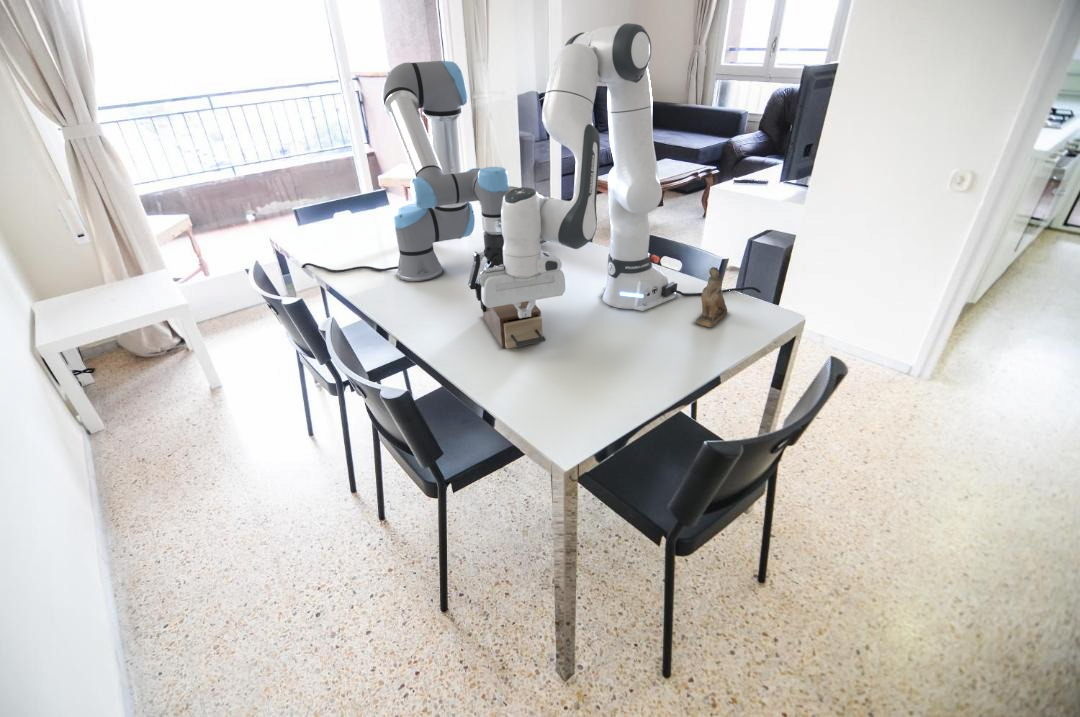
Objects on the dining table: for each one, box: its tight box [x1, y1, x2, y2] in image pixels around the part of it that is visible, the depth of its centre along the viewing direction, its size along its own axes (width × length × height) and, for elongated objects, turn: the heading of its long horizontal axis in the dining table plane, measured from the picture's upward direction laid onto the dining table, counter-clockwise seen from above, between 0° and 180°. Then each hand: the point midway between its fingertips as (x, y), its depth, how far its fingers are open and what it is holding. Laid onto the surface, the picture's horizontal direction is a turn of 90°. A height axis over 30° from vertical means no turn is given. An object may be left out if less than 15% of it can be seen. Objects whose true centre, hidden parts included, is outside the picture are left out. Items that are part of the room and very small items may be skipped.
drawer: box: [503, 315, 546, 350], centre depth 132 cm, size 23×10×7 cm, turn 20°
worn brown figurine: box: [695, 266, 728, 328], centre depth 135 cm, size 12×6×18 cm, turn 136°
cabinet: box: [482, 301, 542, 349], centre depth 136 cm, size 19×11×9 cm, turn 20°
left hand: (503, 306), depth 142 cm, fingers closed on cabinet, 11 cm apart
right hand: (524, 316), depth 121 cm, fingers closed
